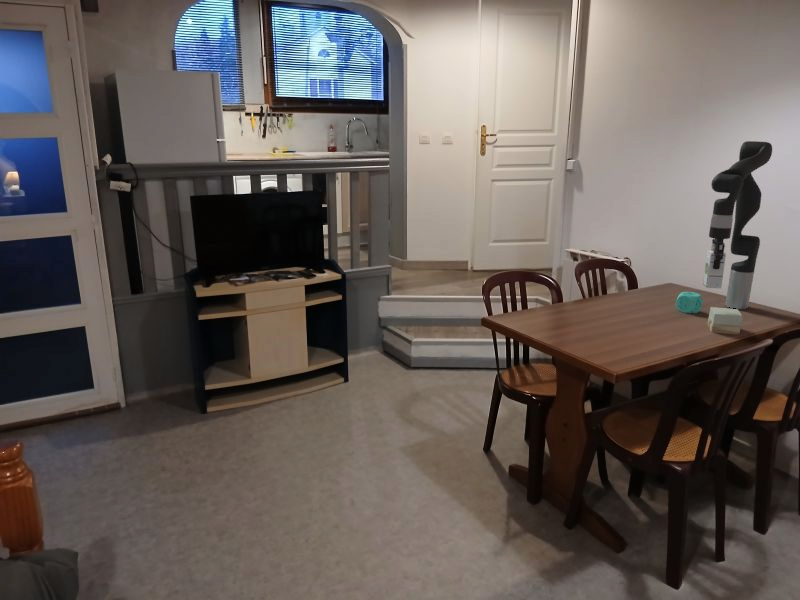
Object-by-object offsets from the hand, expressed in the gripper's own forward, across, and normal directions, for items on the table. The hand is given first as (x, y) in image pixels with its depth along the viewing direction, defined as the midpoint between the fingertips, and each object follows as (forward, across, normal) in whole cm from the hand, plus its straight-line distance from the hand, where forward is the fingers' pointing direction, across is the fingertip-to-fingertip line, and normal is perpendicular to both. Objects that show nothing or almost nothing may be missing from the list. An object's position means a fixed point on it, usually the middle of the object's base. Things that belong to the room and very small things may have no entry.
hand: (714, 267), depth 235 cm
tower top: (+22, -2, -6) cm, 23 cm away
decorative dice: (+26, +21, +5) cm, 34 cm away
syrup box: (+8, 0, 0) cm, 8 cm away
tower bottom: (+26, -2, -6) cm, 26 cm away
